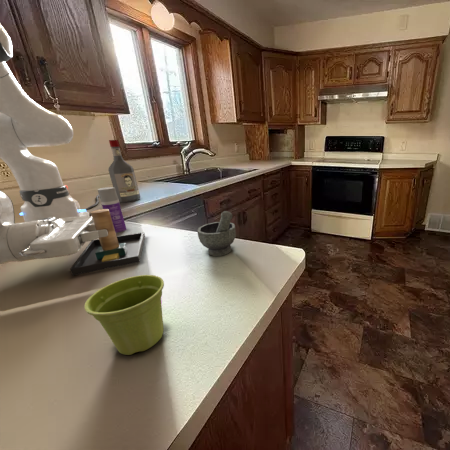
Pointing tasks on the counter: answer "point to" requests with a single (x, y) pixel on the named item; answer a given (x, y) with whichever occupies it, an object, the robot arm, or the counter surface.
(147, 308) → the plant pot
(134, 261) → the pan
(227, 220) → the mortar and pestle
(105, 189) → the container
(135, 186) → the liquor
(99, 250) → the brush
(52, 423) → the counter surface
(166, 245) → the counter surface
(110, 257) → the block
